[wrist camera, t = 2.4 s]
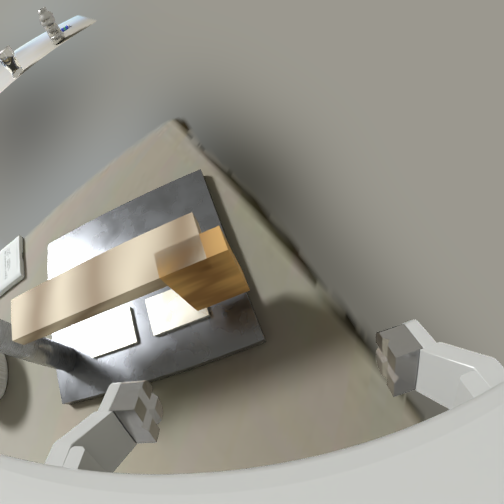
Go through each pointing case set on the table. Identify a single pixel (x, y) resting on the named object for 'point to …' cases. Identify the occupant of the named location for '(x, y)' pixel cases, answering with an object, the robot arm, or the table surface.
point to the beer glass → (10, 62)
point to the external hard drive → (11, 265)
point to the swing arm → (133, 278)
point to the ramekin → (3, 374)
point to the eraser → (65, 28)
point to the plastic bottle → (50, 26)
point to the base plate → (138, 307)
